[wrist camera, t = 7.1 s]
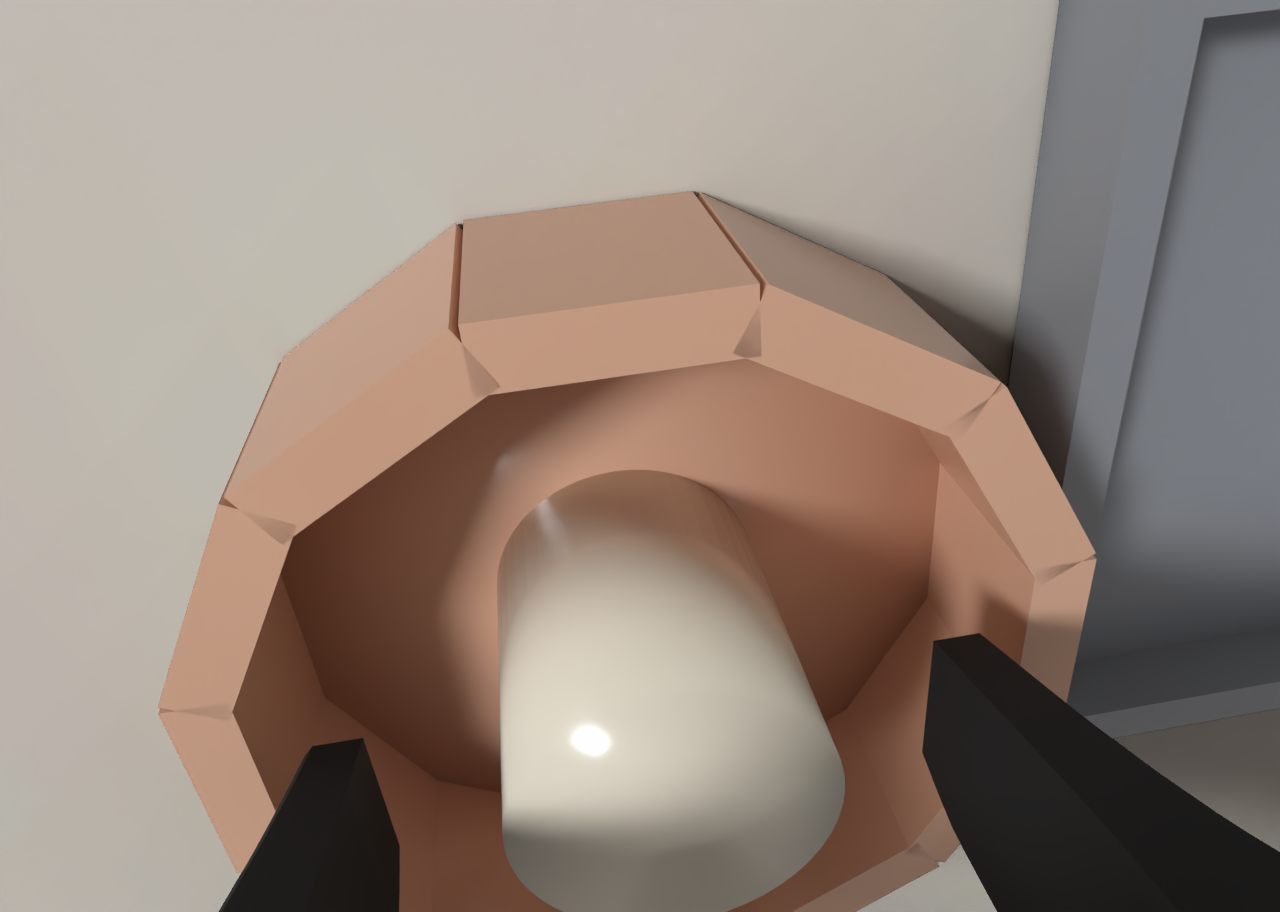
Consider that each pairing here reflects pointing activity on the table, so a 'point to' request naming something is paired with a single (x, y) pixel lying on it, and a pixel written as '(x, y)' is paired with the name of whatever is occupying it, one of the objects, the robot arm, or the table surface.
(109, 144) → the table surface
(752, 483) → the terracotta bowl
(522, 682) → the cream rounded cylinder
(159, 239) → the table surface
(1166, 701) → the parts tray
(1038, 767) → the robot arm
